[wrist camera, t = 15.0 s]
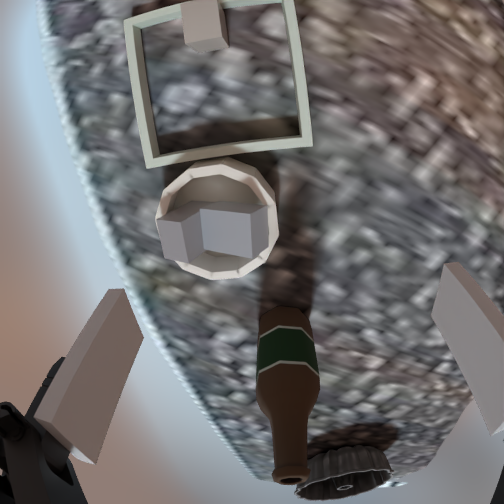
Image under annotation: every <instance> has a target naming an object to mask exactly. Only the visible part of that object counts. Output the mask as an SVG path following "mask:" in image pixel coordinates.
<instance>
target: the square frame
mask: <svg viewBox="0 0 504 504" xmlns="http://www.w3.org/2000/svg"><path fill="white" fill-rule="evenodd" d="M192 1H195V0H192ZM218 1H219V3H220V5H221V7H222V9H227V8H233V7H240V6H248V5H257V4H268V3H282V8H283V14H284V20H285V26H286V32H287V39H288V45H289V52H290V59H291V66H292V73H293V81H294V88H295V96H296V105H297V113H298V122H299V132H300V135H297V136H285V137H275V138H265V139H256V140H248V141H240V142H233V143H226V144H219V145H212V146H206V147H200V148H194V149H188V150H183V151H177V152H172V153H167V154H162V155H160V152H159V147H158V142H157V136H156V131H155V125H154V120H153V114H152V108H151V102H150V96H149V89H148V83H147V76H146V69H145V62H144V54H143V46H142V38H141V29H142V28H145V27H148V26H152V25H155V24H159V23H162V22H166V21H170V20H173V19H177V18H181V17H182V15H181V6H180V4H182V3H179V4H175V5H172V6H168V7H164V8H161V9H157V10H154V11H150V12H147V13H144V14H141V15H138V16H135V17H132V18H129V19H126V20H124V30H125V40H126V49H127V57H128V64H129V72H130V79H131V86H132V92H133V98H134V105H135V111H136V116H137V122H138V127H139V133H140V138H141V143H142V148H143V153H144V158H145V163H146V168H147V169H149V168H154V167H159V166H164V165H170V164H175V163H181V162H186V161H192V160H198V159H205V158H211V157H218V156H225V155H232V154H240V153H248V152H256V151H265V150H275V149H285V148H296V147H308V146H313V142H312V131H311V121H310V111H309V102H308V94H307V86H306V78H305V70H304V63H303V56H302V49H301V42H300V36H299V30H298V23H297V18H296V12H295V6H294V1H293V0H218ZM188 2H190V1H188ZM184 3H186V2H184Z"/></svg>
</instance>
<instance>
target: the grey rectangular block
mask: <svg viewBox="0 0 504 504" xmlns="http://www.w3.org/2000/svg"><path fill="white" fill-rule="evenodd" d="M212 203H215V202H207V201H190V202H188V203H186V204H184V205H182V206H180V207H178V208H176V209H174V210H173V211H171V212H169V213H167V214H165V215H163V216H162V217H160V218H158V219H156V222H157V226H158V231H159V235H160V240H161V244H162V249H163V253H164V257H165V259H170V260H175V261H179V262H184V263H188V264H189V263H190V262H192V261H193V260H194V259H195V258H197V257H198V256H199V255H201V254H202V253H203V252H205V251H206V250H205V249H204V245H203V236H202V227H201V217H200V208H202V207H205V206H207V205H210V204H212Z"/></svg>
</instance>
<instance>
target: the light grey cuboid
mask: <svg viewBox="0 0 504 504" xmlns="http://www.w3.org/2000/svg"><path fill="white" fill-rule="evenodd" d="M200 217H201V227H202V236H203V245H204V249H205V250H210V251H215V252H220V253H225V254H230V255H235V256H240V257H245V258H250V259H253V258H254V257H256V256H257V255H258V254H260V253H261V252H262V251H264V250H265V249H266V248H268V247H269V239H268V208H267V205H260V204H249V203H239V202H227V201H217V202H215V203H212V204H210V205H207V206H205V207H202V208H200Z"/></svg>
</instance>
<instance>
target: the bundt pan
mask: <svg viewBox="0 0 504 504" xmlns="http://www.w3.org/2000/svg"><path fill="white" fill-rule="evenodd" d="M307 468H309V469H310V470H311V471H310V475H309V478H308V479H307V480H306V482H303V483H299V484H297V488H296V491H295V492H294V494H295V495H296V496H298V498H302V499H305V500H310V501H316V500H321V501H325V500H336V499H342V498H346V497H350V496H355V495H359V494H361V493H365V492H368V491H371V490H373V489H375V488H377V487H379V486H381V485H383V484H385V483H386V482H387V481H388V480H390V479H391V478H392V477H393V473H394V470H392V469H391V467H390V465H389V462H388V460H387V458H386V456H385V454H384V453H383V452H382V451H380V450H378V449H376V448H374V447H371V446H365V447H364V446H362V445H356V446H354V447H353V448H352V447H342V448H340V449H338V450H337V451H336V450H332V449H330V450H329V451H328V452H327V453H321V454H318V455H316V456H315V457H313V458H312V459H309V460H307Z"/></svg>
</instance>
